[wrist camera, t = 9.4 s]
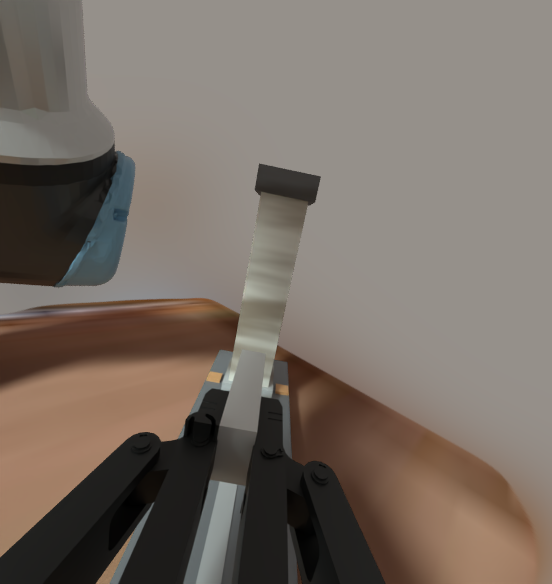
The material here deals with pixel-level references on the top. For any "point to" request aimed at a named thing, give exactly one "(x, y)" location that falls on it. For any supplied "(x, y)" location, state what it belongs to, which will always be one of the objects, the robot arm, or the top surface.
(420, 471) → the top surface
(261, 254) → the lever
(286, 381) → the fader console
